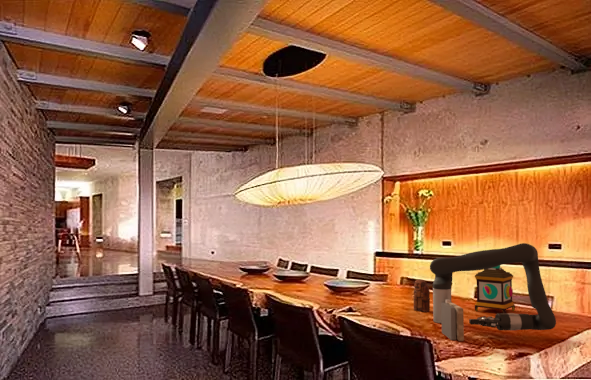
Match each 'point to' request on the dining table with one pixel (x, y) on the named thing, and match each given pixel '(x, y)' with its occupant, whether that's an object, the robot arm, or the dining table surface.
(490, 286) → the decorative lantern
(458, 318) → the ash plank
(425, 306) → the wooden figurine
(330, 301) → the dining table surface
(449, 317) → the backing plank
